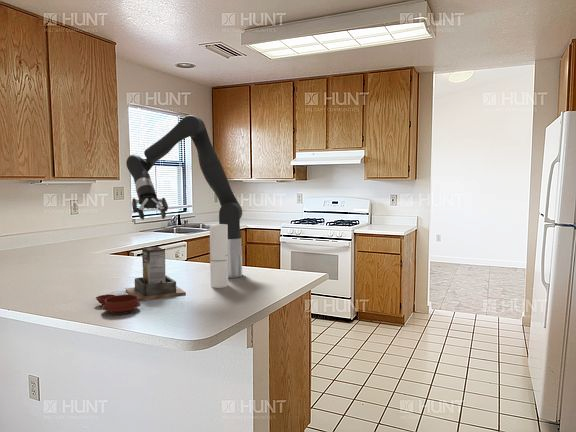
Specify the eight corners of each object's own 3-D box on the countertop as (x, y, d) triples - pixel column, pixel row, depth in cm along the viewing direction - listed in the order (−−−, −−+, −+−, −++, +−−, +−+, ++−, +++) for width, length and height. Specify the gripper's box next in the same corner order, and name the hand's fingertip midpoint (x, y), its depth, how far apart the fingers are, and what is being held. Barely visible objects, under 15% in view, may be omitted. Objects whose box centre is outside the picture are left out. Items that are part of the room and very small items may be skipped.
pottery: (112, 319, 133) (112, 305, 132) (84, 307, 146) (84, 294, 146) (147, 311, 141) (147, 298, 141) (118, 300, 155) (117, 288, 154)
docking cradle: (171, 285, 177) (171, 273, 177) (185, 294, 162) (185, 281, 161) (125, 290, 168) (125, 278, 167) (136, 301, 152) (135, 287, 152)
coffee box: (142, 288, 167) (141, 247, 166) (159, 286, 170) (158, 246, 169) (149, 293, 159) (148, 250, 158) (166, 291, 163) (165, 249, 162)
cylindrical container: (231, 284, 178) (230, 224, 177) (223, 288, 172) (222, 225, 170) (215, 283, 181) (215, 223, 179) (207, 287, 174) (206, 225, 172)
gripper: (129, 184, 182) (137, 212, 174) (163, 184, 190) (172, 211, 181) (127, 196, 187) (134, 224, 179) (160, 195, 195) (168, 222, 186)
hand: (153, 217), depth 180 cm, fingers open, 8 cm apart
